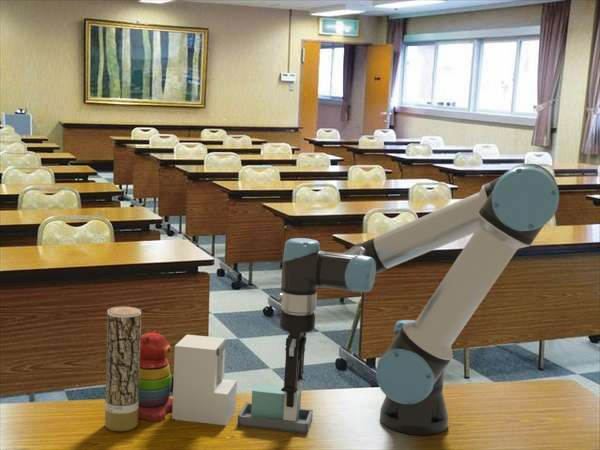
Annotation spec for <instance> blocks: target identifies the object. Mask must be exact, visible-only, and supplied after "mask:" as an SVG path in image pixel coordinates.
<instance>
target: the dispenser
mask: <svg viewBox="0 0 600 450" xmlns="http://www.w3.org/2000/svg"><path fill="white" fill-rule="evenodd" d="M227 347H228V339H227V338H224V337H218V336H208V335H207V336H205V335H197V334H186V335H185V336H183V338H182V339H180V340H179V341H178V342H177V343H176V344H175V345H174V360H173V361H174V363H173V381H172V384H173V387H172V399H173V410H172V411H171V412H172V414H171V415H172V416H171V418H172V419H171V420H173V419H175V421H183V422H184V421H185V422H192V423H199V424H200V423H201V424H207V425H209V424H210V425H220V426H227V425H228V423H229V422H230V419H231V418H232V417H233V415H234V413H235V412H236V405H237V388H238V387H237V386H238V385H237V383H238V380H236V379H227V378H225V364H226V348H227Z"/></svg>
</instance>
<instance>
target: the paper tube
mask: <svg viewBox="0 0 600 450" xmlns="http://www.w3.org/2000/svg"><path fill="white" fill-rule="evenodd" d="M106 316H107V317H106V319H107V320H106V358H105V394H104V395H105V396H104V397H105V398H104V399H105V401H104V402H105V403H104V404H105V406H104V425H105V427H106V429H107V430H109V431H112V432H117V431H118V432H129V431H132V430H134V429H135V428H136V427H137V426H138V425H139V423H138V422H139V418H138V406H139V372H140V338H141V336H142V333H141V332H142V310H141V309H140V308H137V307H132V306H114V307H111V308H108V309H107V315H106Z"/></svg>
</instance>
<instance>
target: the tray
mask: <svg viewBox="0 0 600 450" xmlns="http://www.w3.org/2000/svg"><path fill="white" fill-rule="evenodd" d="M251 405H252V402H245V404H244V406H243V407H242V408H241V409H240V410H241V411H240V412H239V414H238V415H237V427H243V428H251V429H261V430H270V431H276V432H277V431H279V432H287V433H297V434H304V435H308V433H309V430H310V427H311V425H312V421H313V413H314V410H313V409H310V408H309V409H308V408H300V410H299V420H298V422H295V421H286V420H277V419H268V418H259V417H251Z"/></svg>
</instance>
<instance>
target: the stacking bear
mask: <svg viewBox="0 0 600 450" xmlns="http://www.w3.org/2000/svg"><path fill="white" fill-rule="evenodd" d="M170 351H171V345H170V343H169V341H167V339H166V338H165V337H164V335H162V334H161V333H158V330H156V329H154V330H152V331H151V332H146V333H144V334H141V338H140V372H139V406H138V419H141V420H144V419H145V421H149V422H161V421H163V420H164V419H166V414H168V413H169V412H172V410H173V397H170V393H171V390H172V384H173V380H172V379H173V377H172V373H171V367H170V364H169V360H168V358H166V357H167V356H168V355H169V354H170Z"/></svg>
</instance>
